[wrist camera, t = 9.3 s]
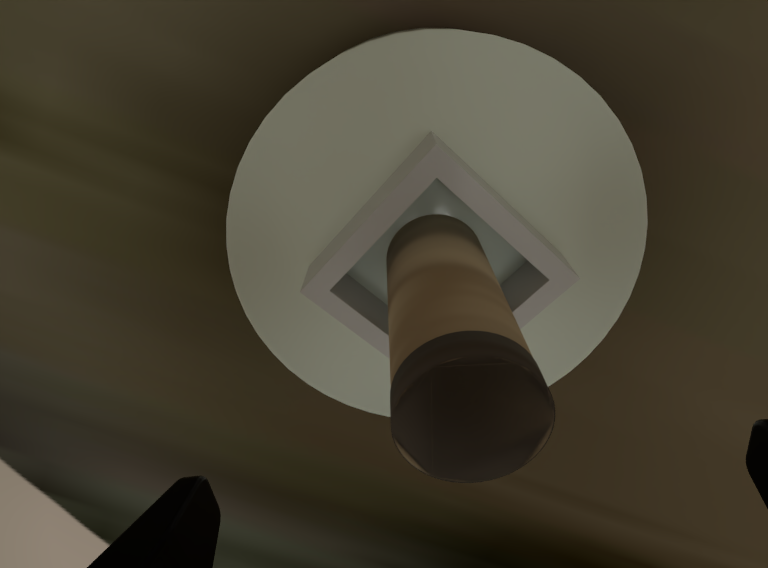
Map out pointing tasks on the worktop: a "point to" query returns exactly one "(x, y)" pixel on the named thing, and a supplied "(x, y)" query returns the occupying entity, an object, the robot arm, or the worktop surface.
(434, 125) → the disc with square recess
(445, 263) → the dowel
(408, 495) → the worktop surface
